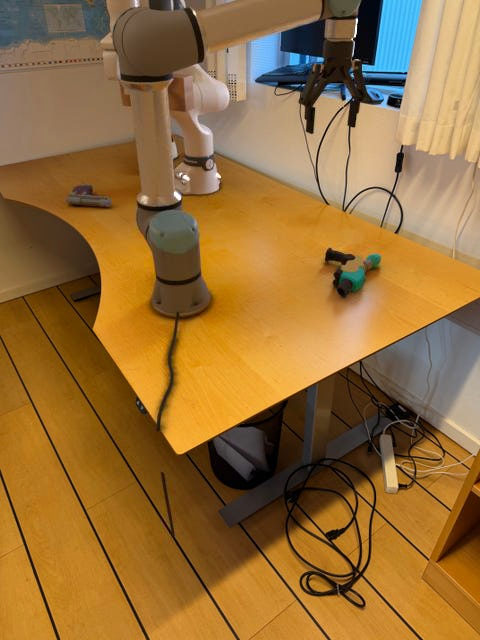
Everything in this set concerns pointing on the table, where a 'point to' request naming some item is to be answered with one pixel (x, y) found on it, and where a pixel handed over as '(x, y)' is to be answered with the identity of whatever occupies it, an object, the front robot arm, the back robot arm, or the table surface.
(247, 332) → the table surface
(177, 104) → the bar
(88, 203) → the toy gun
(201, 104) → the back robot arm
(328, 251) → the toy gun
